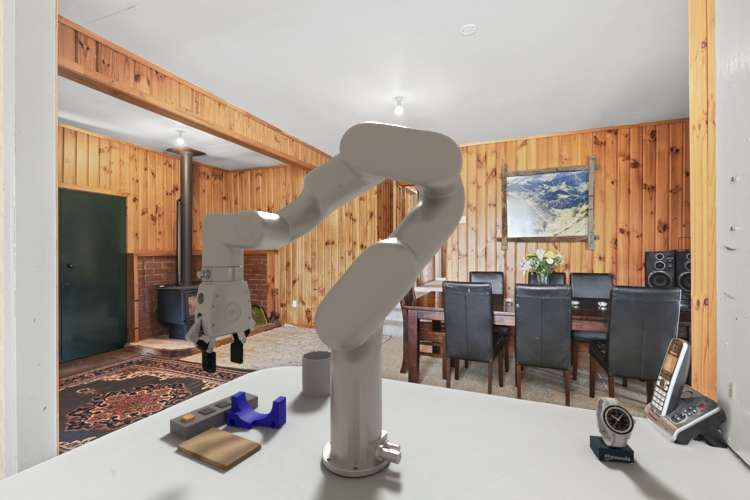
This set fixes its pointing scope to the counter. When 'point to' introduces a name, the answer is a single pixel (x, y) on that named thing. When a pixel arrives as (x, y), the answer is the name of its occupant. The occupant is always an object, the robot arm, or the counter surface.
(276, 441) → the counter surface
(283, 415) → the cable clip
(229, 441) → the wooden board
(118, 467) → the counter surface
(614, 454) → the watch
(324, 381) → the cup
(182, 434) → the power strip
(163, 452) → the counter surface
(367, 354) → the robot arm
